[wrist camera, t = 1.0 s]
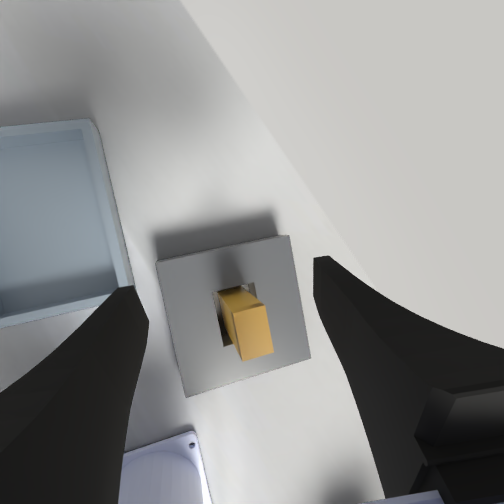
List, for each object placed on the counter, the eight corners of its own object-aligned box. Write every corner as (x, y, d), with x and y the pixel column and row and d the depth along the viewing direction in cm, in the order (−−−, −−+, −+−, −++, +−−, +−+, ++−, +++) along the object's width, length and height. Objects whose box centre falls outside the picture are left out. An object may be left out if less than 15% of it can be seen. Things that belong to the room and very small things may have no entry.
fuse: (247, 320, 25) (274, 352, 18) (224, 326, 24) (242, 361, 18) (241, 286, 25) (264, 305, 18) (217, 291, 24) (232, 313, 17)
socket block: (298, 347, 26) (311, 358, 24) (185, 381, 24) (185, 397, 21) (278, 235, 25) (289, 235, 23) (157, 260, 23) (155, 263, 20)
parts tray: (136, 291, 23) (131, 298, 20) (2, 322, 21) (-22, 333, 18) (99, 131, 21) (89, 118, 19) (-48, 147, 19) (-80, 134, 17)
